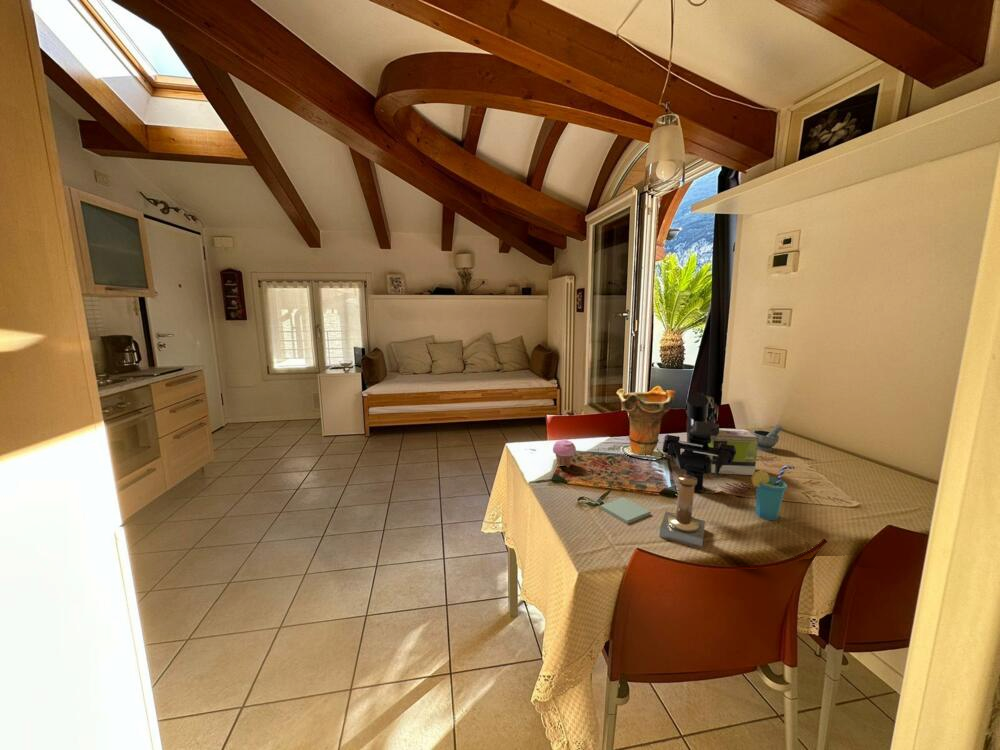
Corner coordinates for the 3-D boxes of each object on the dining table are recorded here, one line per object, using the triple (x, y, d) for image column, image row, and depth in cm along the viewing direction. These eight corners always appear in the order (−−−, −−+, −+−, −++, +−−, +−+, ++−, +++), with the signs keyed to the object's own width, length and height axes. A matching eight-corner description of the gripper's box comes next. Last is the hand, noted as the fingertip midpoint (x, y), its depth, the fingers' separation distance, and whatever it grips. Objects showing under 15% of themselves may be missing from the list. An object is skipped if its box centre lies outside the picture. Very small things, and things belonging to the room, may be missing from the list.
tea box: (742, 465, 155) (746, 428, 152) (754, 476, 145) (759, 437, 142) (700, 462, 157) (704, 426, 154) (710, 473, 147) (714, 434, 144)
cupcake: (575, 471, 148) (576, 445, 146) (551, 469, 149) (552, 443, 148) (575, 461, 157) (576, 437, 155) (552, 460, 158) (553, 435, 156)
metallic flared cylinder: (662, 525, 111) (667, 471, 108) (690, 525, 111) (695, 472, 108) (673, 541, 103) (678, 484, 101) (703, 541, 103) (709, 484, 101)
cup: (774, 506, 123) (781, 459, 121) (800, 518, 116) (807, 469, 113) (738, 512, 119) (744, 464, 117) (762, 525, 112) (769, 475, 109)
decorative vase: (602, 446, 172) (609, 382, 168) (645, 443, 181) (652, 382, 176) (634, 464, 153) (643, 392, 149) (681, 460, 162) (690, 391, 157)
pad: (623, 501, 125) (623, 497, 125) (650, 515, 117) (650, 511, 116) (600, 510, 120) (600, 505, 120) (626, 525, 111) (627, 520, 111)
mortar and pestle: (745, 446, 175) (748, 420, 173) (758, 443, 179) (761, 417, 177) (772, 455, 165) (776, 427, 163) (785, 452, 170) (789, 424, 168)
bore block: (664, 521, 114) (665, 511, 113) (704, 531, 109) (705, 520, 109) (659, 538, 105) (660, 527, 105) (701, 550, 101) (702, 539, 100)
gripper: (668, 407, 121) (667, 446, 110) (738, 417, 115) (744, 459, 104) (663, 432, 128) (661, 471, 117) (728, 443, 122) (733, 485, 111)
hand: (698, 471), depth 112 cm, fingers open, 9 cm apart
